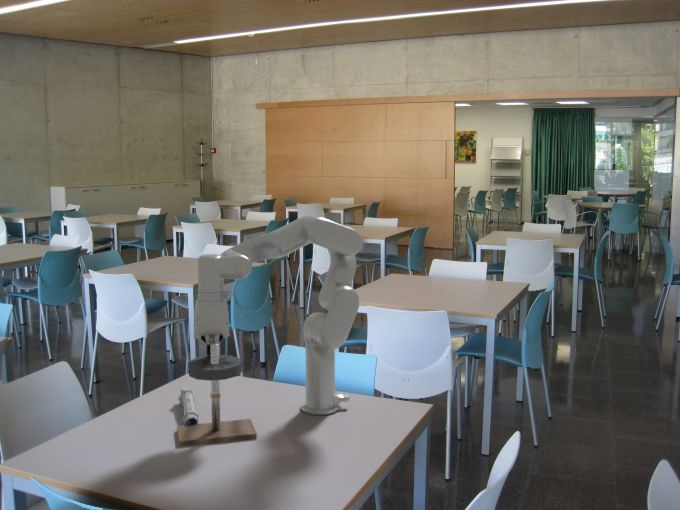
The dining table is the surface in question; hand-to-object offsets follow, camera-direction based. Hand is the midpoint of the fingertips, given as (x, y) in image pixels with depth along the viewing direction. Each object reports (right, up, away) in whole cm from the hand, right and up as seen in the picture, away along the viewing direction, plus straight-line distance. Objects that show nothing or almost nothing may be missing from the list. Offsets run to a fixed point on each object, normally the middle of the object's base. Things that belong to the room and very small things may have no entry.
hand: (212, 356), depth 211 cm
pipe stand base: (+2, -23, -3) cm, 23 cm away
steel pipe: (+2, -21, -3) cm, 21 cm away
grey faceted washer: (+2, -4, -5) cm, 7 cm away
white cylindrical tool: (-10, -21, +14) cm, 27 cm away
